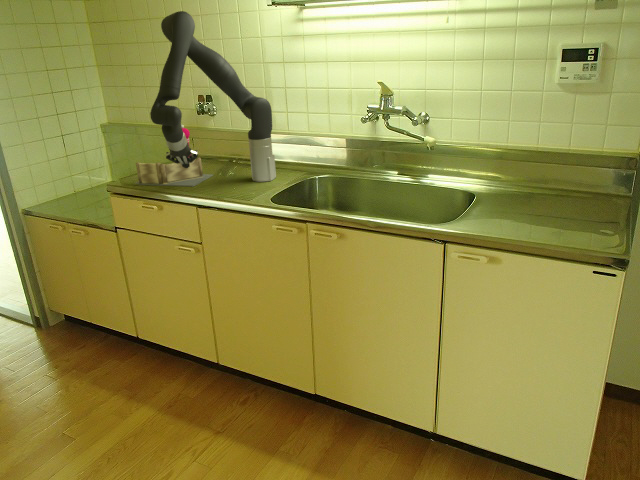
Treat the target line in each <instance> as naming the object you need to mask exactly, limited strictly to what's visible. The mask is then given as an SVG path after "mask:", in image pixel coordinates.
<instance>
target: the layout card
mask: <svg viewBox="0 0 640 480" xmlns="http://www.w3.org/2000/svg"><path fill="white" fill-rule="evenodd" d="M213 176H214V174H211V173H210V174H208V173H206V174H205V173H203V176H197V177H192V178H186V179H181V180H176V181H170V182H166V183H162V184H155V183H139V181H136V182H134V183H133V185H134V184H138V186H158V187H159V186H163V187H164V186H166V187H191V188H193V187H195V186H197V185H199V184H201V183H203V182H204V181H206V180H208V179H210V178H211V177H213Z"/></svg>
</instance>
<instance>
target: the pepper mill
mask: <svg viewBox="0 0 640 480" xmlns="http://www.w3.org/2000/svg"><path fill="white" fill-rule="evenodd" d="M181 127H182V130H183V133H184V134H185V136H186V139H187V142H188V144H189V145H190V136H191V135H190V134H191V133H190V130H189V129H188V128H186V127H185V125H184V124H181ZM188 158H189V157H188Z"/></svg>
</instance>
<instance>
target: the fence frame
mask: <svg viewBox="0 0 640 480" xmlns="http://www.w3.org/2000/svg"><path fill="white" fill-rule="evenodd" d="M160 164H161V162H156V163H151V162H150V163H149V162H148V163H142V162H140V161H138V162H137V161H136V162H135V166H136V172H137V173H136V174H137V178H138V182H139V183H155V184H162V183H163V179H162V172H161V166H160Z"/></svg>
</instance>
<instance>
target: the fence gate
mask: <svg viewBox="0 0 640 480" xmlns="http://www.w3.org/2000/svg"><path fill="white" fill-rule="evenodd" d="M189 163H190V162H189ZM160 166H161V172H162V179H163V183H166V182H170V181H176V180H181V179H186V178H192V177H197V176H203V174H204V173H203V163H202V158H201V157H197V158H196V159H195V160H194V161H193V162H192V163H190V167H188V168H184V167H182V164H181V163H178V164H177V163H174V162H172V163H167V164H165V163H160Z"/></svg>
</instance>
